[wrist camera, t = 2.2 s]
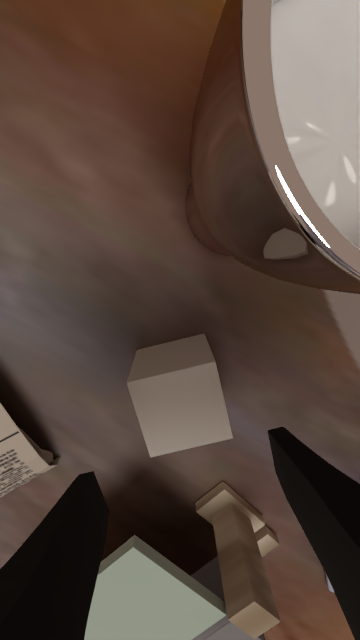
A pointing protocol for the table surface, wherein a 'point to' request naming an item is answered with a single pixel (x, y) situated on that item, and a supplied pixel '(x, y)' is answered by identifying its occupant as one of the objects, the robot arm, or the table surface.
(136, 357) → the off-white cube
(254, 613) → the frame
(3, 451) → the newspaper
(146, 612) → the trapdoor
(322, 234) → the beer glass
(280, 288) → the table surface
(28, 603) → the robot arm
